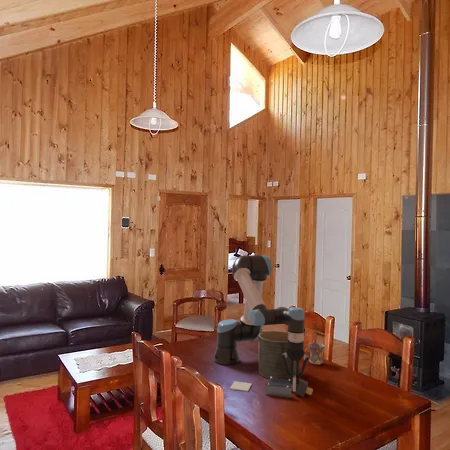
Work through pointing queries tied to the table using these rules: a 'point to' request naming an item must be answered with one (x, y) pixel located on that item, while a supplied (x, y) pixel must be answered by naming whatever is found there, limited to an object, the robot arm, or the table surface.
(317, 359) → the mug
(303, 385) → the plug
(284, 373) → the planter
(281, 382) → the shaft channel
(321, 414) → the table surface
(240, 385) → the coaster
